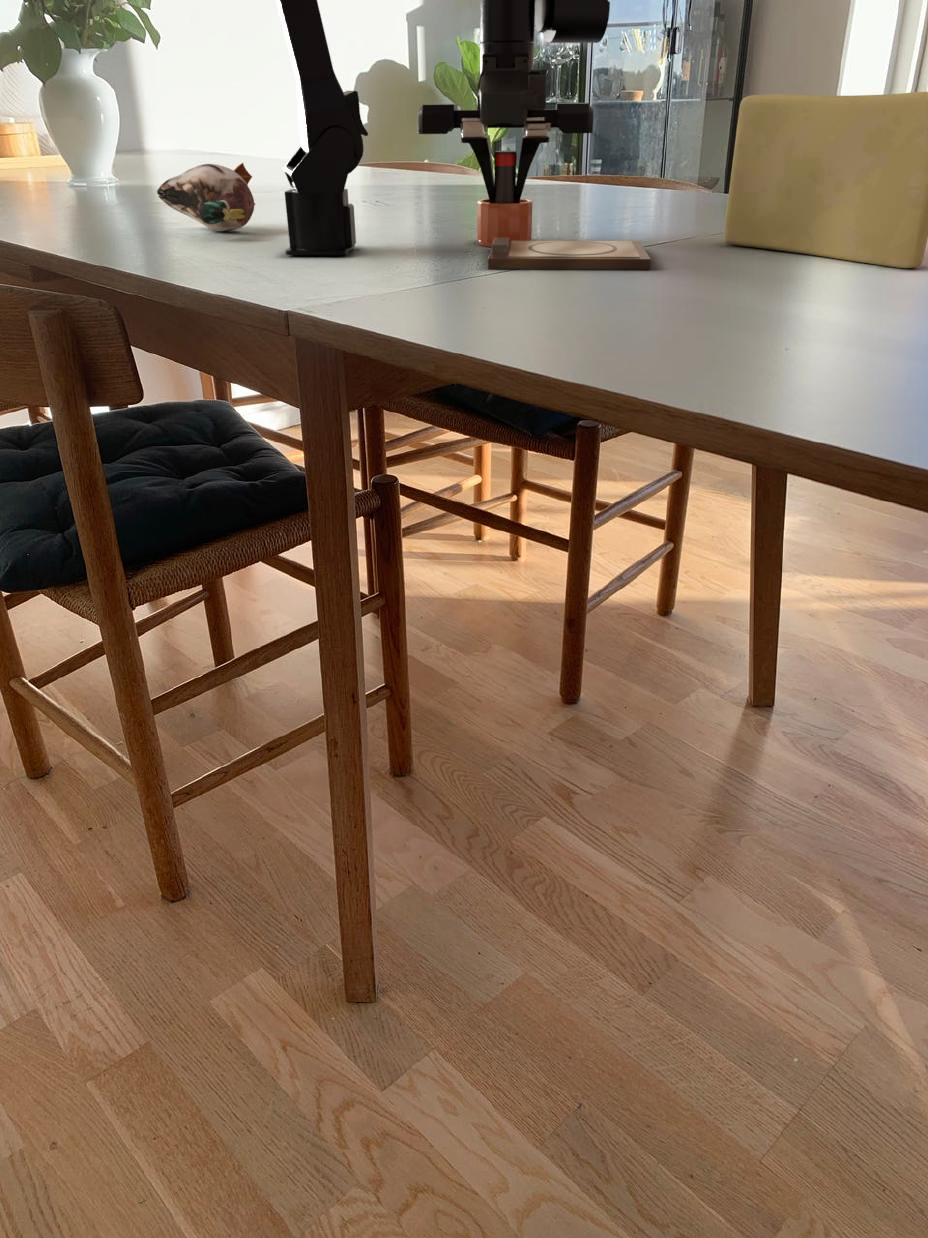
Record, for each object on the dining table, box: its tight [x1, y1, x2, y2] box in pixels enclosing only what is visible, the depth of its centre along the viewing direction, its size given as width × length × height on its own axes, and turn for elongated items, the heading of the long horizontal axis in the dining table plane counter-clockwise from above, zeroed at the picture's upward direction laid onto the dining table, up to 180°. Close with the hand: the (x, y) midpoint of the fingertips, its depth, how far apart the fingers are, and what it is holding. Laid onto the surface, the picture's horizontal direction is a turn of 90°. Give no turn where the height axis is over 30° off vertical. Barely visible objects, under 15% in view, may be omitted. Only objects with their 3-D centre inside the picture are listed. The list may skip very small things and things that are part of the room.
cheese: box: [722, 91, 928, 269], centre depth 93 cm, size 22×10×15 cm, turn 31°
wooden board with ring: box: [487, 237, 652, 271], centre depth 95 cm, size 16×12×2 cm
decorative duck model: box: [156, 162, 256, 232], centre depth 113 cm, size 15×8×15 cm
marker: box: [493, 150, 518, 203], centre depth 103 cm, size 2×2×9 cm
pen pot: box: [476, 197, 534, 248], centre depth 104 cm, size 6×6×4 cm
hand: (504, 205), depth 103 cm, fingers closed on marker, 2 cm apart
